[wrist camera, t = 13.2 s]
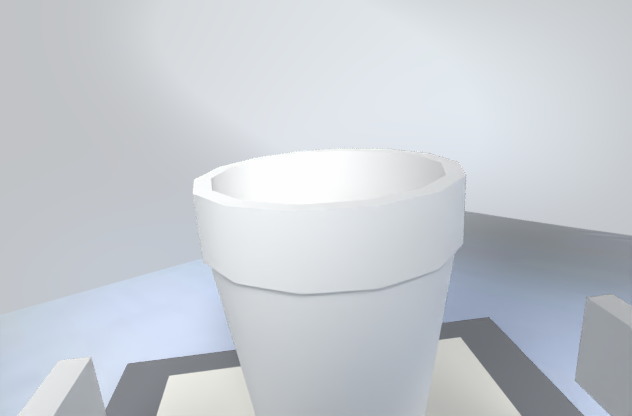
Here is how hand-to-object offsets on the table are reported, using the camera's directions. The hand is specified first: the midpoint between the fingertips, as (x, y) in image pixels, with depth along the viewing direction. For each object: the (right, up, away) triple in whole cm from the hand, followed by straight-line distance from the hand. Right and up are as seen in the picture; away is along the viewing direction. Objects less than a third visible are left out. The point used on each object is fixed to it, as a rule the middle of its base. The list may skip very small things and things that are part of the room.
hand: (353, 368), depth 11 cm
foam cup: (0, -7, +8) cm, 10 cm away
